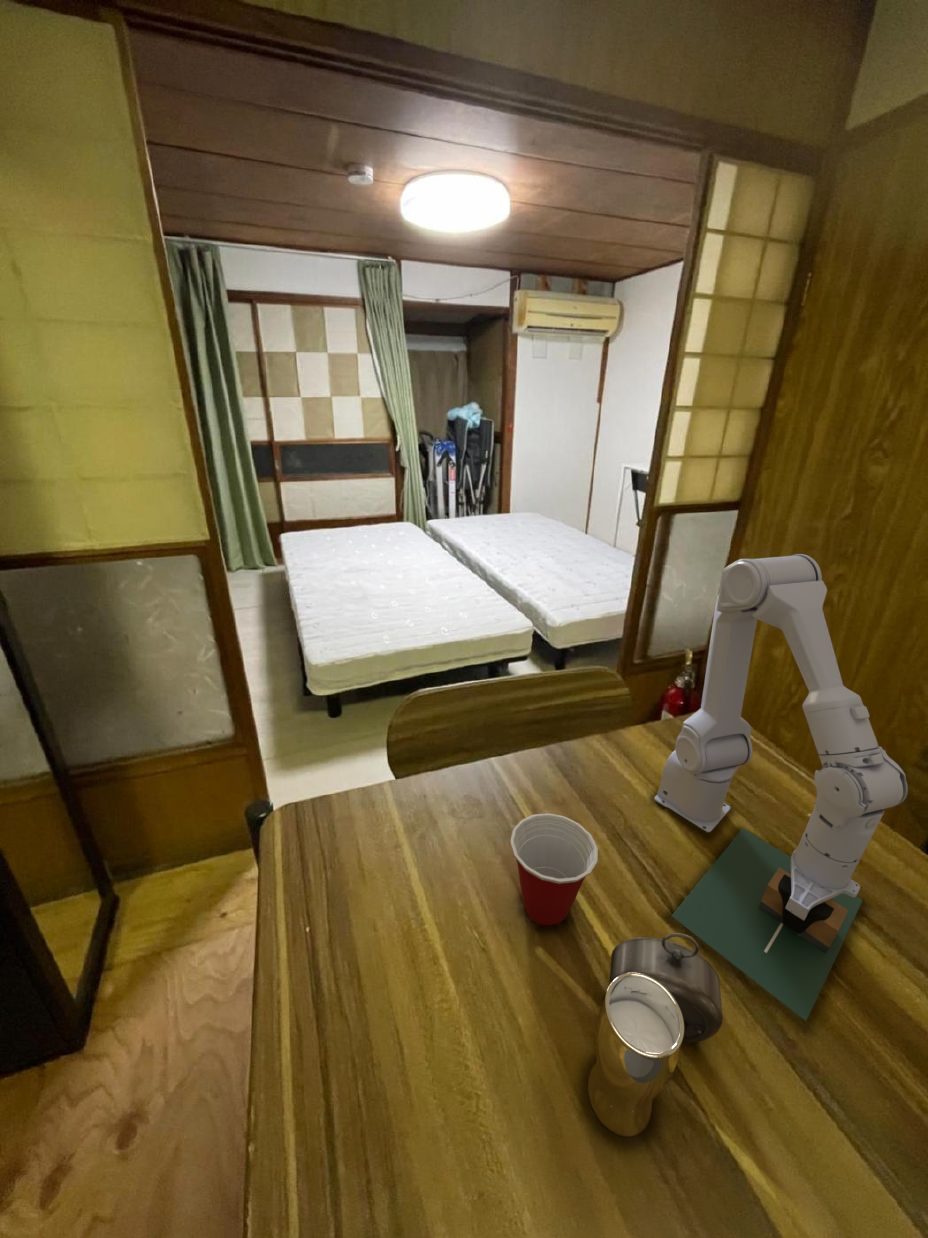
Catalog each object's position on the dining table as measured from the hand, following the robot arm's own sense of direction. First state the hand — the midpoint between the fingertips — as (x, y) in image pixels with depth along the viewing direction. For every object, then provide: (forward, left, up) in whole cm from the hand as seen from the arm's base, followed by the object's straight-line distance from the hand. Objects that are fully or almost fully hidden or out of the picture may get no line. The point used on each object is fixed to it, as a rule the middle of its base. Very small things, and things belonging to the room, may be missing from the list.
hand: (798, 916), depth 67 cm
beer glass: (-5, -33, -2) cm, 33 cm away
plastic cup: (-23, -23, -2) cm, 33 cm away
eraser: (0, 0, -1) cm, 1 cm away
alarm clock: (-6, -25, -2) cm, 26 cm away
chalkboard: (-3, -1, -1) cm, 3 cm away
